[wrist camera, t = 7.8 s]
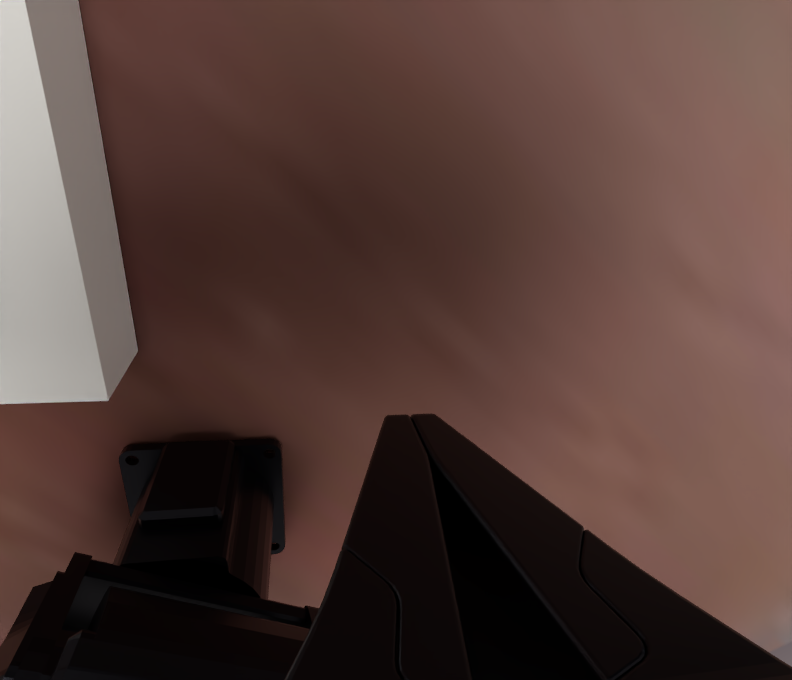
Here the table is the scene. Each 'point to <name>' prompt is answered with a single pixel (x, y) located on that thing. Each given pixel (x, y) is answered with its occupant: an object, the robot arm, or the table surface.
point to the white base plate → (56, 217)
